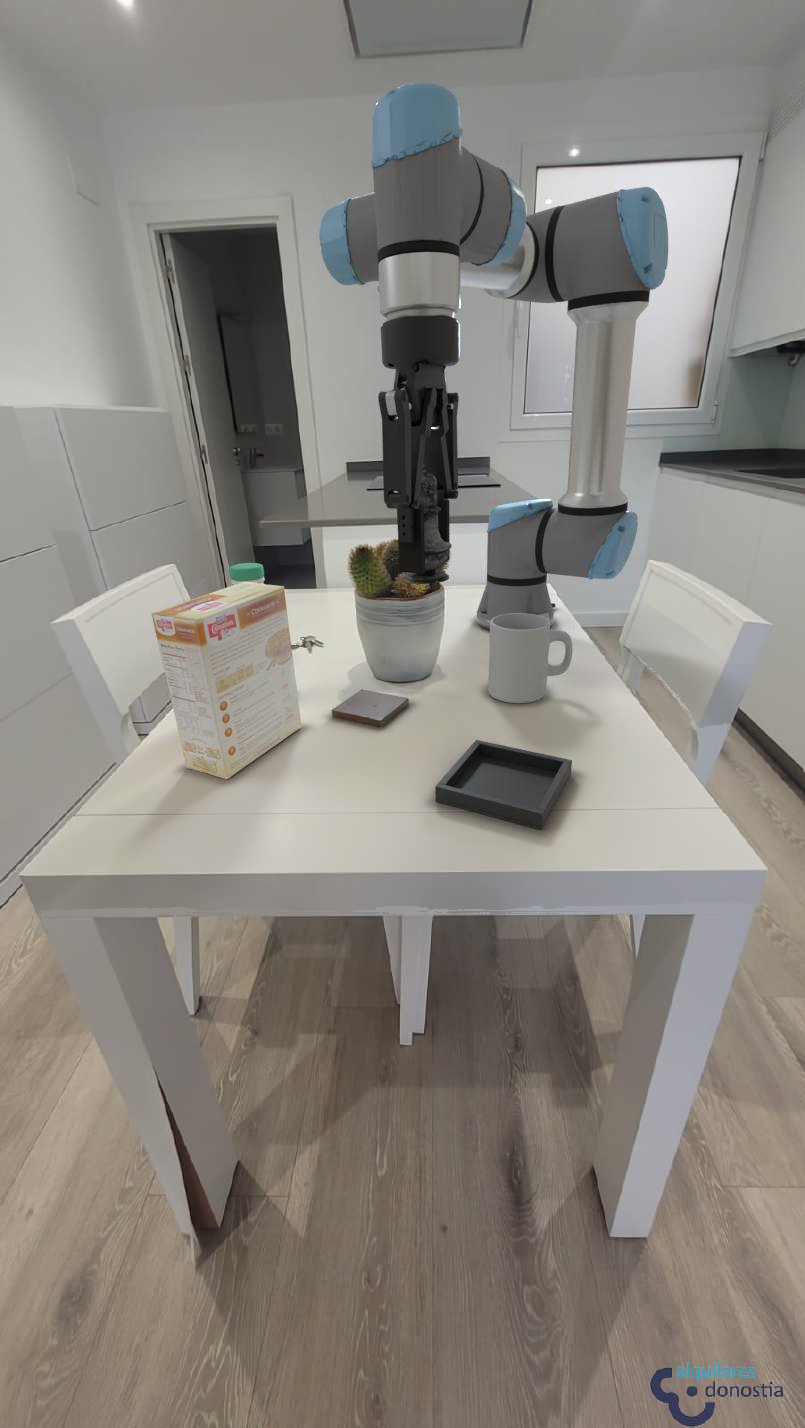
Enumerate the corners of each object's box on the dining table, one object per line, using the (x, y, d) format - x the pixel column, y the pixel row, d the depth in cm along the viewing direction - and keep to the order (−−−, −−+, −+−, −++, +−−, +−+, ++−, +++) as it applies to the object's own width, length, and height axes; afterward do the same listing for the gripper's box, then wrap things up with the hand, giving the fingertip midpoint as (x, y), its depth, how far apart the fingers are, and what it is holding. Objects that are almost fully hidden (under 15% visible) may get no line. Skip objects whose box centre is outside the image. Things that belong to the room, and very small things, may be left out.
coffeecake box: (263, 718, 84) (242, 580, 75) (304, 727, 81) (287, 585, 72) (183, 768, 72) (147, 611, 64) (227, 781, 69) (196, 618, 60)
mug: (491, 704, 85) (493, 631, 81) (484, 681, 93) (486, 613, 88) (575, 702, 85) (582, 628, 80) (561, 679, 93) (568, 611, 88)
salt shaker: (409, 587, 64) (404, 466, 58) (393, 575, 69) (388, 463, 63) (460, 581, 65) (460, 462, 60) (440, 570, 70) (439, 460, 65)
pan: (475, 753, 73) (476, 739, 72) (570, 774, 68) (572, 759, 67) (435, 801, 64) (435, 786, 63) (541, 830, 59) (542, 814, 58)
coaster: (362, 695, 90) (361, 689, 89) (408, 704, 86) (408, 698, 86) (332, 716, 84) (331, 710, 83) (381, 727, 80) (380, 720, 80)
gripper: (426, 332, 65) (430, 547, 75) (331, 310, 50) (352, 582, 60) (491, 325, 62) (486, 551, 72) (410, 299, 47) (418, 588, 57)
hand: (425, 565), depth 66 cm, fingers closed on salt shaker, 6 cm apart
